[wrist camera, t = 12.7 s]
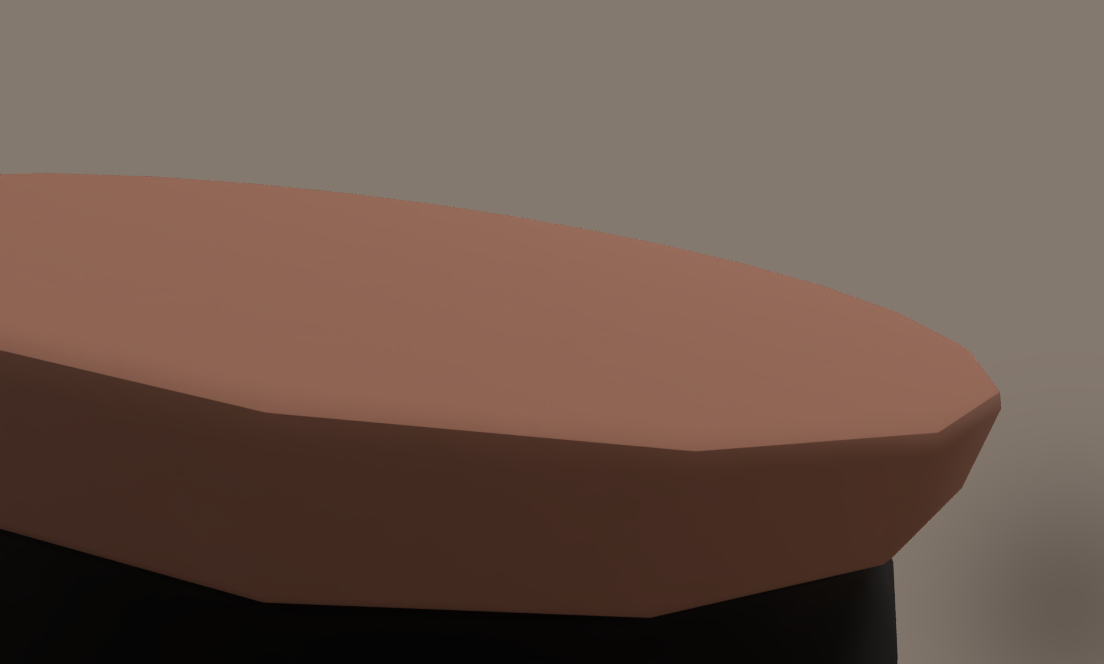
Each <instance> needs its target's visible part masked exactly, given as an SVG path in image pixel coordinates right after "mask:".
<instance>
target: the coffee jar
mask: <svg viewBox="0 0 1104 664" xmlns="http://www.w3.org/2000/svg"><path fill="white" fill-rule="evenodd" d="M1000 410H1001V401H1000V391H999V390H998V389H997V387H996V386H995V384H994V383H993V382H992V381H991V379H990V378H989V376H988V375H987V374H986V372H985V371H984V370H983V368H982V367H981V366H980V364H979V363H978V362H977V360H976V359H975V358H974V356H973V355H972V354H971V352H970V351H968V350H967V349H966V348H964V347H962V346H961V345H959V344H958V343H956V342H954V341H952V340H950V339H948V338H946V337H944V336H942V335H940V334H938V333H936V332H934V331H933V330H931V329H928V328H927V327H925V326H923V325H921V324H919V323H917V322H915V321H913V320H911V319H909V318H907V317H905V316H903V315H901V314H899V313H897V312H895V311H892V310H889V309H886V308H884V307H881V306H878V305H875V304H872V303H870V302H867V301H864V300H861V299H858V298H855V297H852V296H850V295H847V294H844V293H841V292H838V291H835V290H832V289H830V288H827V287H824V286H821V285H818V284H814V283H811V282H807V281H803V280H800V279H796V278H793V277H789V276H786V275H782V274H779V273H775V272H771V271H768V270H764V269H761V268H757V267H754V266H750V265H746V264H743V263H738V262H734V261H730V260H726V259H721V258H717V257H713V256H709V255H705V254H700V253H696V252H691V251H687V250H683V249H679V248H675V247H671V246H666V245H661V244H656V243H652V242H646V241H642V240H637V239H632V238H627V237H622V236H617V235H612V234H607V233H603V232H597V231H593V230H587V229H582V228H575V227H570V226H565V225H559V224H553V223H548V222H542V221H536V220H531V219H525V218H519V217H514V216H507V215H501V214H494V213H488V212H481V211H475V210H468V209H461V208H455V207H448V206H442V205H435V204H428V203H420V202H412V201H404V200H396V199H388V198H381V197H373V196H365V195H357V194H348V193H340V192H330V191H321V190H311V189H301V188H291V187H280V186H272V185H262V184H250V183H237V182H223V181H208V180H195V179H181V178H167V177H151V176H149V177H148V176H120V175H88V174H87V175H86V174H56V173H34V174H3V175H2V174H0V664H897V659H898V657H897V656H898V655H897V636H896V635H897V634H896V612H895V593H894V571H893V561H892V557H893V556H894V555H895V554H896V553H897V552H898V551H899V550H900V549H901V548H902V547H903V546H904V545H905V544H906V543H907V542H908V541H909V540H910V539H911V538H912V537H913V536H914V535H915V534H916V533H917V532H918V531H919V530H920V529H921V528H922V527H923V526H924V525H925V524H926V523H927V522H928V521H929V520H930V519H931V518H932V517H933V516H934V515H935V514H936V513H937V512H938V511H939V510H940V509H941V508H942V507H943V506H944V505H945V504H946V503H947V502H948V501H949V500H950V499H951V498H952V497H953V496H954V495H955V494H956V493H957V492H958V491H959V490H960V489H961V488H962V486H963V484H964V482H965V480H966V478H967V476H968V474H969V472H970V470H971V468H972V466H973V464H974V462H975V460H976V458H977V456H978V454H979V452H980V450H981V448H982V446H983V444H984V442H985V440H986V438H987V436H988V434H989V432H990V430H991V428H992V426H993V424H994V422H995V420H996V418H997V416H998V414H999V412H1000Z"/></svg>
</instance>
